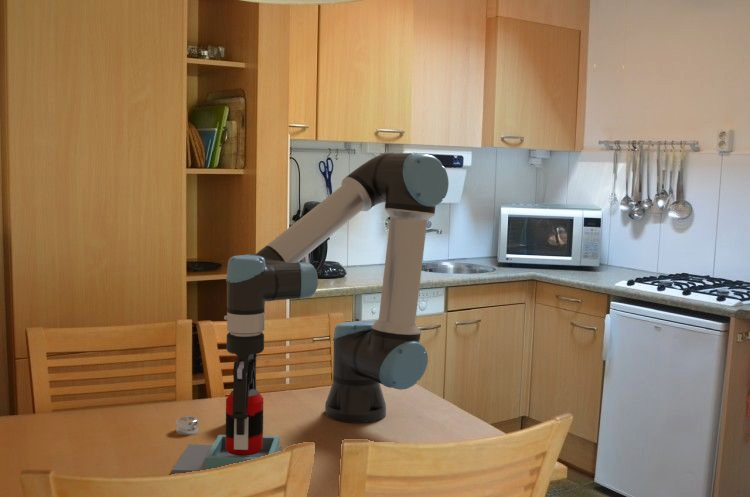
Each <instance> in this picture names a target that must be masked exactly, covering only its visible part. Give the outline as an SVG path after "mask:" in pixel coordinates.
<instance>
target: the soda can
mask: <svg viewBox="0 0 750 497" xmlns="http://www.w3.org/2000/svg"><path fill="white" fill-rule="evenodd" d="M231 391H232V392H231ZM231 391H230V393H229V395H228V396H227V397H226V398H225V435H226V450H227V451H228V452H229V453H230V454H233V455H239V456H247V455H253V454H256V453H258V452H260V451H261V450H262V448H263V436H264V397H263V395H262V394H261V393H260V391H259V390H257V389H256V390H255V389H249V396H248V410H247V415H248V450H238V449H234V419H232V418H230V415H232V413H233V390H231Z"/></svg>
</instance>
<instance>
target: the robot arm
mask: <svg viewBox="0 0 750 497" xmlns="http://www.w3.org/2000/svg"><path fill="white" fill-rule="evenodd" d="M449 184H450V183H449V176H448V171H447V170H446V167H445V166H444V165H443V164H442V161H440V160H439V159H438V158H437V157H436V156H435V155H431V154H428V153H427V154H426V153H421V152H413V153H411V152H404V153H403V152H400V153H399V152H397V153H396V152H385V153H381V154H379V155H377V156H374V157H372V158H371V159H369V160H367V161H366V162H364V163H363V164H362V165H360V166H358V167H357V168H356V169H354V170H353V171H352V172H350V173H349V174H348V175H346V176H345V177H344V178H343V179H342V180H341V186H340V187H338V188H337V189H335V191H333V192H332V193H331V194H330V195H328V196H327V197H326V198H325V199H323V200H322V201H320V202H319V203H318V204H317V205H316V206H314V207H313V208H312V209H311V210H309V211H308V212H306V214H305V215H303V216H302V217H301V218H299V219H298V220H297V221H295V222H294V223H293V224H292V225H291V226H289V227H288V228H286V230H284V231H283V232H282V233H281V234H279V235H278V236H276V237H275V238H274V239H272V241H271V242H268V244H266V245H265V246H264V247H263V248H261V249H260V250H259V251H258V252H256V253H248V254H244V255H243V254H241V255H234V256H231V257H230V258H228V261H227V267H226V268H227V269H226V278H225V281H226V315H224V317H223V319H224V320H225V321H226V331H228V332H227V334H226V351H227V352H228V353H229V354H232V355H233V354H234V355H236V357H237V358H236V359H235V361H234V362H233V370H232V373H233V377H232V378H233V385H232V386H233V387H232V391H233V413H232V415H230V418H232V419H234V449H238V450H248V415H247V410H248V396H249V389H255V390H257V357H258V356H257V355H258V354H261V353H262V352H264V350H265V334H264V331H265V329H266V328H265V326H266V325H265V324H266V323H265V321H266V318H265V317H266V316H265V314H266V313H265V308H266V307H265V304H266V302H272V301H273V302H275V301H283V300H296V299H298V300H301V299H304V298H305V299H306V298H308V297H312V296H313V295H314V294H315V293H316V292H317V289H318V285H319V283H318V282H319V281H318V280H319V277H318V272H317V270H316V268H315V266H314V265H313V264H311V263H310V262H306V261H305V262H300V261H302V260H304V258H305V257H307V256H308V255H309V254H310V253H311V252H313V251H314V250H315V249H316V248H318V247H319V246H320V245H322V244H323V243H324V242H325V241H326V240H327V239H329V238H330V237H331V236H332V235H333V234H335V233H336V232H338V230H340V229H341V228H342V227H343V226H344V225H346V224H347V223H348V222H349V221H351V220H352V219H353V218H354V217H355V216H357V215H358V214H359V213H360V212H368V211H370V210H371V209H372V208H373V207H375V206H377V205H378V204H382V203H384V211H385V212H386V213H387V214H388V216H389V225H388V233H387V234H388V235H387V243H386V252H385V261H384V269H383V278H382V287H381V294H380V295H381V297H380V304H379V305H380V306H379V312H378V313H379V314H378V319H377V320H354V321H346V322H341V323H338V324H336V326H335V327H334V332H333V337H332V338H333V339H332V340H333V357H332V358H333V360H332V361H333V362H332V364H333V365H332V368H333V370H332V383H331V386H330V389H329V393H328V394H327V398H326V401H325V404H324V406H325V407H324V408H325V409H324V414H325V415H326V416H327V417H328V418H330V419H331V420H333V421H334V420H335V421H338V422H344V423H351V424H353V423H355V424H359V423H360V424H362V423H371V422H376V421H379V420H382V419H383V418H385V416H386V414H387V404H386V401H385V397H384V394H383V390H382V387H381V385H383V386H385V388H386V387H387V388H390V389H392V388H393V389H395V390H398V391H399V390H401V391H402V390H407V389H410V388H411V387H413V386H415V385H417V382H419V381H420V380H421V379H422V378H423V376H424V375H425V373H426V370H427V368H428V362H429V354H428V351H427V350H426V348H425V346H424V345H423V344H422V343H421V342H420V341H421V335H422V333H421V332H422V331H421V329H420V328H419V327H418V326H417V323H416V319H417V312H418V304H419V294H420V287H421V286H420V285H421V278H422V277H421V276H422V270H423V269H422V268H423V261H424V252H425V245H426V244H425V242H426V235H427V225H428V221H429V220H430V219H431V218H433V217H434V216H435V214H436V206H437V205H439V204H441V203H442V202H443V199H445V198H446V196H447V195H448V191H449Z"/></svg>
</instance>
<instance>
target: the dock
mask: <svg viewBox="0 0 750 497" xmlns="http://www.w3.org/2000/svg"><path fill="white" fill-rule="evenodd" d="M280 439H281V438H280V436H276V435H275V436H274V435H273V436H271V435H263V448H262V450H261V451H260V452H258V453H256V454H253V455H247V456H239V455H233V454H230V453H229V452H228V451H227V450H226V434H218V435H217V437H216V438H215V441H214V442H213V444H195V443H194V444H193V443H192V444H188V445H187V447H185V449H184V450H183V452H182V454H181V456H180V457H179V458H178V460H177V462H176V463H175V465H174V466H173V468H172V469H171V475H172V474H175V473H186V472H192V471H200V470H206V469H211V468H217V467H221V466H225V465H229V464H233V463H239V462H243V461H247V460H251V459H255V458H259V457H261V456H265V455H268V454H272V453H275V452H278V451H282V452H283V447H282V446H280V445H281V444H280V442H281V441H280Z"/></svg>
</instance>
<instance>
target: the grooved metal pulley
mask: <svg viewBox="0 0 750 497" xmlns="http://www.w3.org/2000/svg"><path fill="white" fill-rule="evenodd" d="M199 423H200V422H199V418H198V417H195V416H193V415H191V416H190V415H184V416H180V417H178V418H177V419H176V421H175V425H176V427H175V433H176V434H178V435H182V436H190V435H195V434H197V433H199V426H198V424H199Z"/></svg>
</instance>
